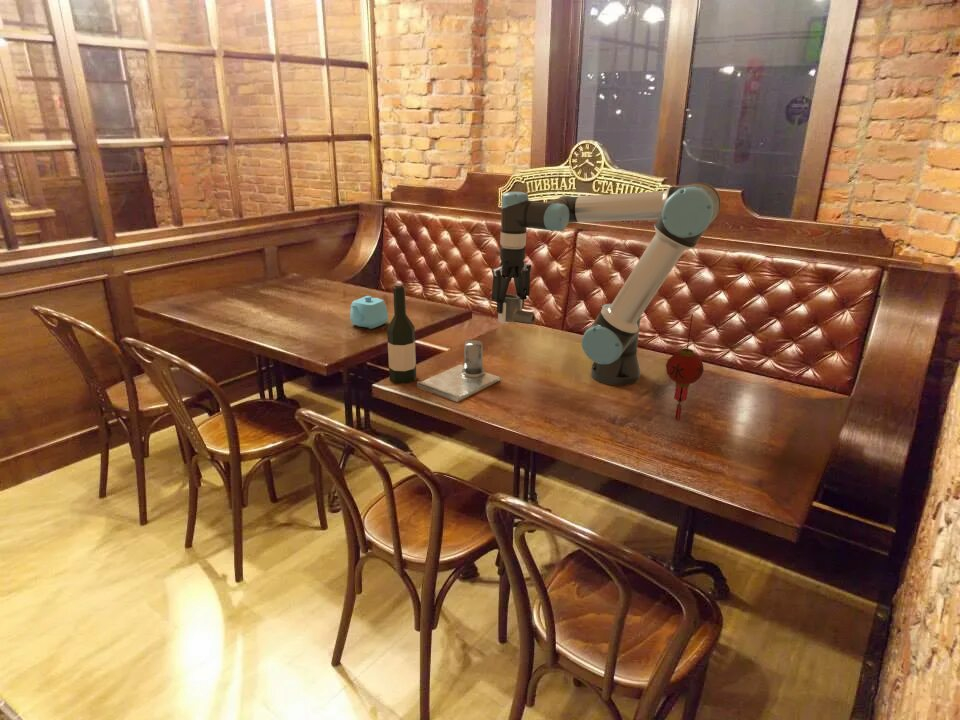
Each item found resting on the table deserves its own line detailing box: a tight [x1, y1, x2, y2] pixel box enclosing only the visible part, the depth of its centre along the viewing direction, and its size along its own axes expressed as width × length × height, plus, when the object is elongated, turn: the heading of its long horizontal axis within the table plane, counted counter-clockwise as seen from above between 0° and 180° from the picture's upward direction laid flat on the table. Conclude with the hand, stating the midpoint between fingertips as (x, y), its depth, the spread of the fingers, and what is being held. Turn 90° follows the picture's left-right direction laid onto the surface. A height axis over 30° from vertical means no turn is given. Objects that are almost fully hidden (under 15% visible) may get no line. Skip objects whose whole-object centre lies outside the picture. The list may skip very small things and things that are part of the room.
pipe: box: [500, 293, 536, 325], centre depth 189 cm, size 6×13×8 cm, turn 63°
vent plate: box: [416, 339, 501, 403], centre depth 187 cm, size 16×21×11 cm
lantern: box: [665, 313, 705, 421], centre depth 162 cm, size 10×10×30 cm
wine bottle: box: [386, 283, 417, 385], centre depth 186 cm, size 8×8×30 cm
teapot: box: [349, 295, 389, 330], centre depth 237 cm, size 12×18×12 cm
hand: (509, 320), depth 191 cm, fingers closed on pipe, 6 cm apart
